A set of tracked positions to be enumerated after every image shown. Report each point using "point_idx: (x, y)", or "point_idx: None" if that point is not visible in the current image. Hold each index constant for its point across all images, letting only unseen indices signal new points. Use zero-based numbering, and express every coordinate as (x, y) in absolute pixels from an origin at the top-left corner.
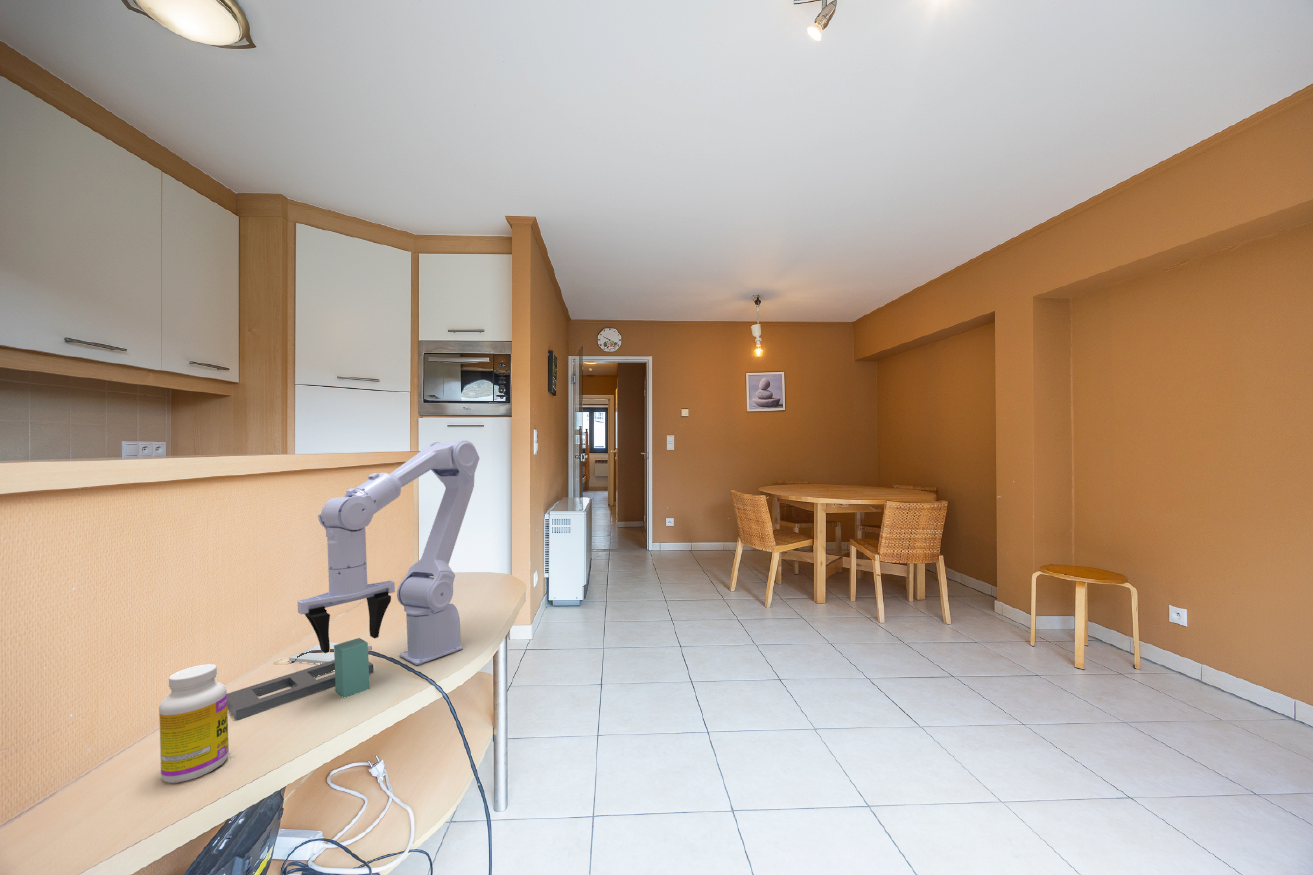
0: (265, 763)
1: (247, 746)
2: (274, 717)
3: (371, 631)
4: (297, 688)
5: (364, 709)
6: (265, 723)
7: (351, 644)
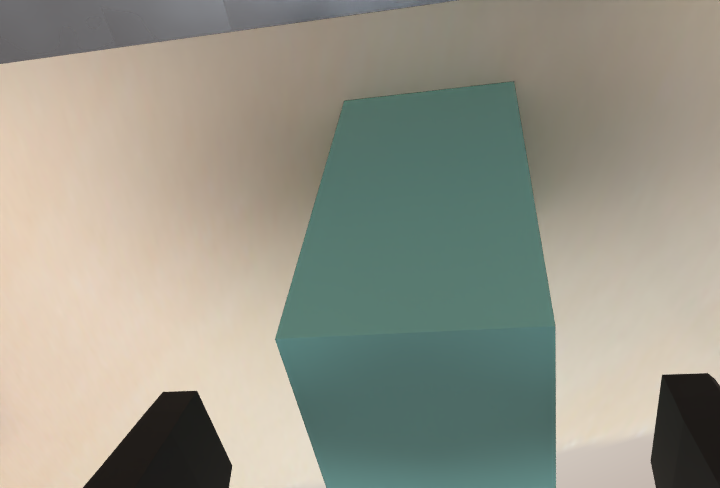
0: None
1: (12, 359)
2: (42, 189)
3: (676, 461)
4: (86, 16)
5: None
6: (17, 222)
7: (426, 433)
